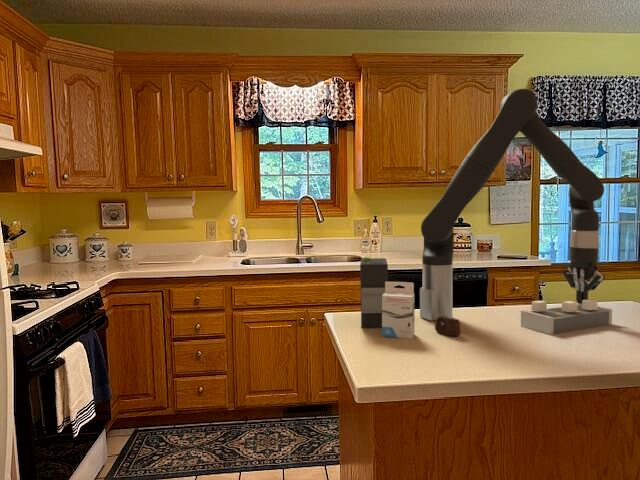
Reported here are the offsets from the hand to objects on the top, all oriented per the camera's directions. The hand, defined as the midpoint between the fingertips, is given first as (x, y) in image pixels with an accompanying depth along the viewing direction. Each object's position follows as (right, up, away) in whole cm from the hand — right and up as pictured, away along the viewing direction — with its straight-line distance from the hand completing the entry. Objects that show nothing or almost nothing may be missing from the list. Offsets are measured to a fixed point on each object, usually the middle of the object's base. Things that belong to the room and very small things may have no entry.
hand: (581, 303), depth 146 cm
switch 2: (-6, -2, -4) cm, 8 cm away
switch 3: (+1, -2, -2) cm, 3 cm away
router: (-61, -7, +6) cm, 62 cm away
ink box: (-56, -8, -10) cm, 58 cm away
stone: (-42, -8, -10) cm, 44 cm away
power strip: (-6, -6, -3) cm, 9 cm away
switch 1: (-14, -2, -3) cm, 15 cm away
